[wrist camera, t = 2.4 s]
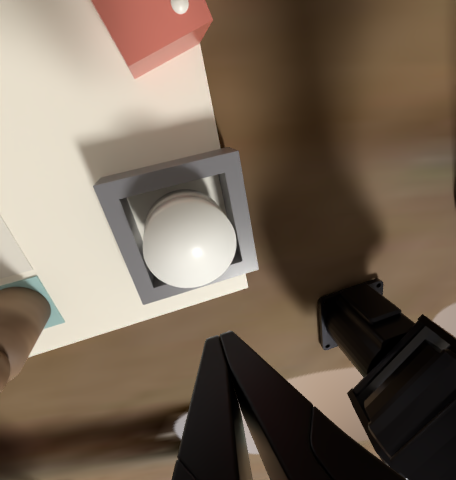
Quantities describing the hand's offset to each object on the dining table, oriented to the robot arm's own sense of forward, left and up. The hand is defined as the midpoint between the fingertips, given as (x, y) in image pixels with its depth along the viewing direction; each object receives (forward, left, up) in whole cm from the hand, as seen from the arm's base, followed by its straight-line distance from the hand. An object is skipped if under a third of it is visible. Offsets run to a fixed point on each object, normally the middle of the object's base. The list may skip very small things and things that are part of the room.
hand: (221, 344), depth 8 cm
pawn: (-3, +12, -11) cm, 17 cm away
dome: (0, 0, -10) cm, 10 cm away
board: (+4, +6, -12) cm, 14 cm away
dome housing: (0, 0, -12) cm, 12 cm away
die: (+11, -1, -12) cm, 16 cm away
